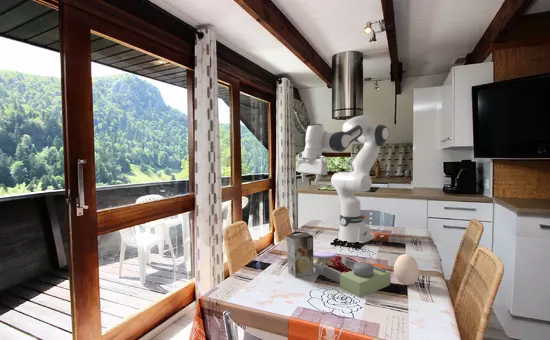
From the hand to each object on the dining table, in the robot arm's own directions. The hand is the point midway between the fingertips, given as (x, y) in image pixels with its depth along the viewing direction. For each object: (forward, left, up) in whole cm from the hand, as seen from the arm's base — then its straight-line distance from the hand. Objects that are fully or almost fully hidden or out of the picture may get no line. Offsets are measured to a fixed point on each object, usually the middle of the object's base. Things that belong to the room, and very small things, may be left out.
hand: (310, 182), depth 146 cm
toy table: (+8, +19, -35) cm, 41 cm away
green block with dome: (+9, +42, -35) cm, 56 cm away
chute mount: (+8, +30, -35) cm, 47 cm away
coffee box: (+21, +19, -35) cm, 45 cm away
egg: (-5, +50, -35) cm, 61 cm away
